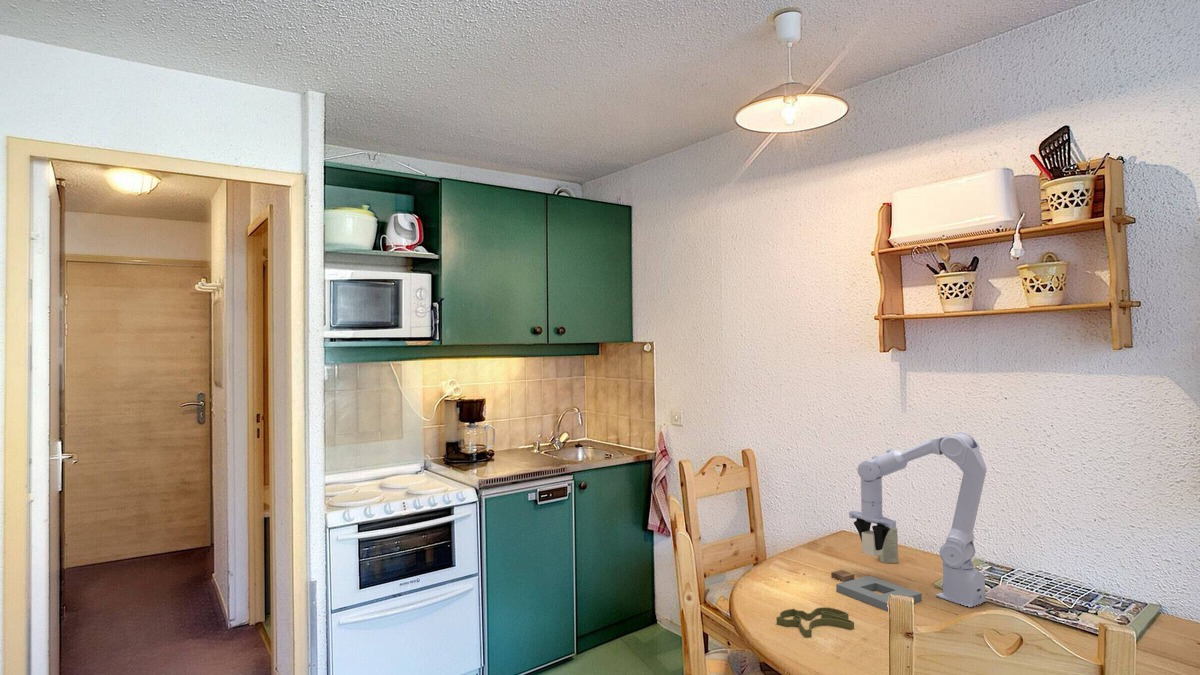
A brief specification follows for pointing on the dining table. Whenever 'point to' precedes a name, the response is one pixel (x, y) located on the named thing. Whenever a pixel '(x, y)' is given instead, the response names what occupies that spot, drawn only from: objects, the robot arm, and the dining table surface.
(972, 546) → the robot arm
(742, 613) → the dining table surface
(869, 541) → the peg
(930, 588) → the dining table surface
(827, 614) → the cookie cutter
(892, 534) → the box
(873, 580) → the board
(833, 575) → the short block
